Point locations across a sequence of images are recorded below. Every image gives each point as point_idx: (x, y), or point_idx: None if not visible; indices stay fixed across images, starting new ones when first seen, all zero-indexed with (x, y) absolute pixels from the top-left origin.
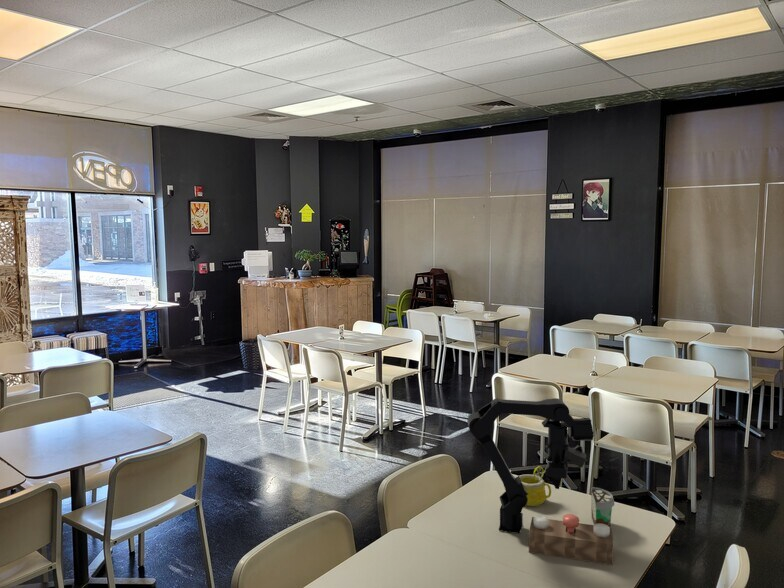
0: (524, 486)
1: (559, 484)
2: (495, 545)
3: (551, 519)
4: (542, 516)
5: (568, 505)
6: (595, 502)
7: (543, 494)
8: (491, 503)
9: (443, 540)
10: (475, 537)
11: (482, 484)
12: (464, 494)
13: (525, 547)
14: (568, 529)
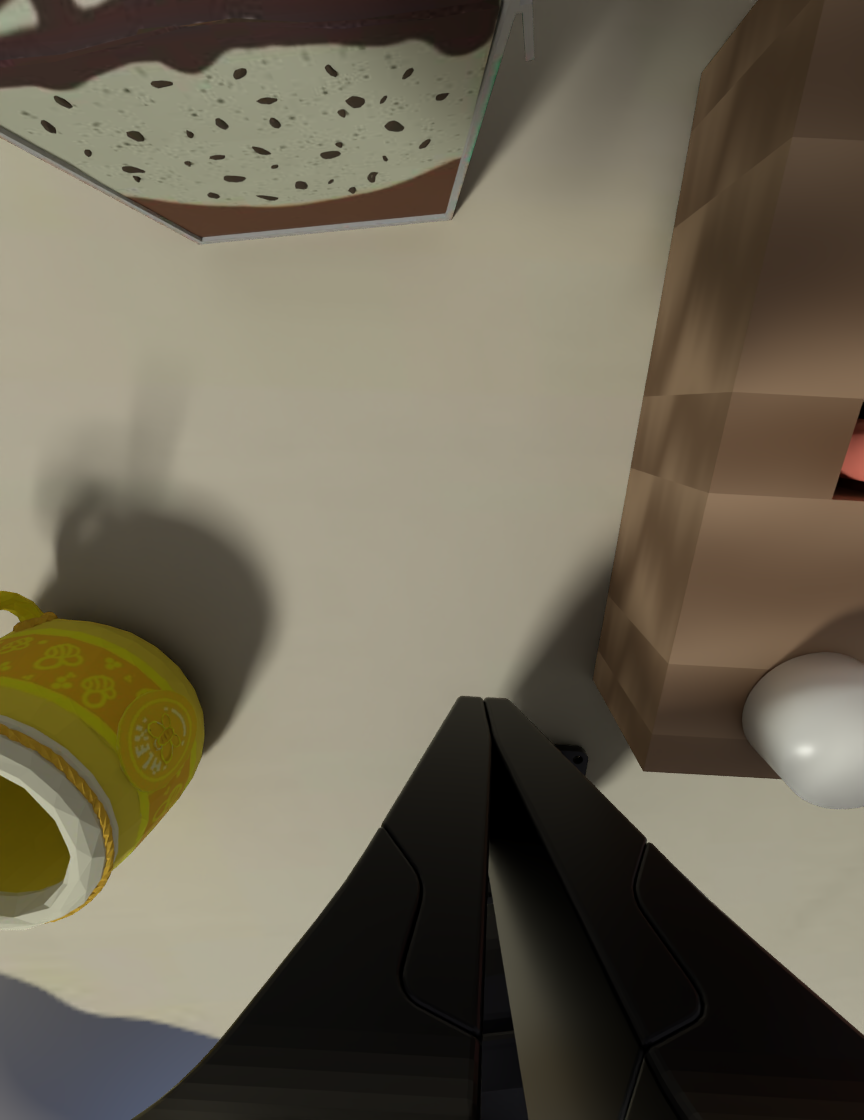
0: (484, 1062)
1: (563, 762)
2: (728, 844)
3: (678, 627)
4: (797, 738)
5: (51, 441)
6: (362, 43)
7: (77, 664)
8: (239, 890)
9: None
10: None
11: (14, 943)
12: (185, 1001)
13: None
14: None
